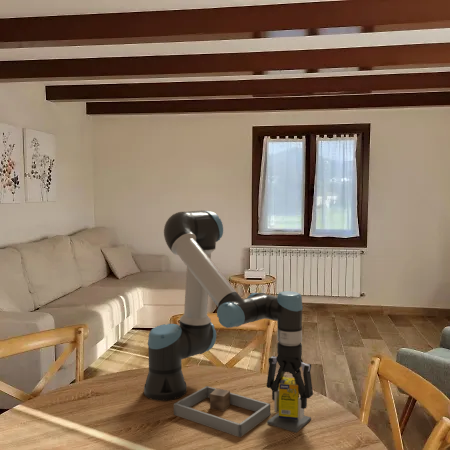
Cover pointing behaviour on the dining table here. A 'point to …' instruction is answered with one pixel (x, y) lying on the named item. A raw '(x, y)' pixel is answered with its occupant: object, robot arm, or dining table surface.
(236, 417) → the dining table surface
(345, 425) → the dining table surface
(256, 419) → the grey bin
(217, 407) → the walnut block
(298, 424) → the slate coaster
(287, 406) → the supplement box
